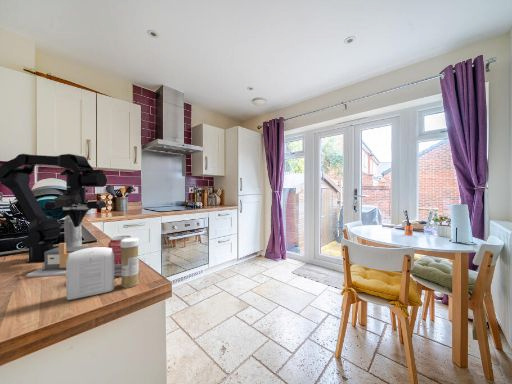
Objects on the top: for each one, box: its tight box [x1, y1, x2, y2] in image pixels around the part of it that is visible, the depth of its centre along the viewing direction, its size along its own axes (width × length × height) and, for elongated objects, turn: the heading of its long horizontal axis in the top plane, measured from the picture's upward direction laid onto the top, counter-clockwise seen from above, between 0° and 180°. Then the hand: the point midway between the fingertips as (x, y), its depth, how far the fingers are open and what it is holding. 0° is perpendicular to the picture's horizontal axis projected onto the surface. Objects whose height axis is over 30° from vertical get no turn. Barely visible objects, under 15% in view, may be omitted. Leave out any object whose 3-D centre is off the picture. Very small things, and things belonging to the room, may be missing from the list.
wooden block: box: [58, 242, 70, 268], centre depth 72 cm, size 5×1×8 cm, turn 98°
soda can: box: [107, 235, 132, 278], centre depth 71 cm, size 7×7×12 cm
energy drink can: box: [63, 216, 83, 247], centre depth 98 cm, size 6×6×15 cm
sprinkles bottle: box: [120, 237, 140, 289], centre depth 62 cm, size 5×5×14 cm
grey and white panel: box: [26, 245, 92, 278], centre depth 76 cm, size 18×13×7 cm
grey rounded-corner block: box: [65, 246, 115, 301], centre depth 57 cm, size 10×4×12 cm, turn 123°
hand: (76, 226), depth 84 cm, fingers closed
